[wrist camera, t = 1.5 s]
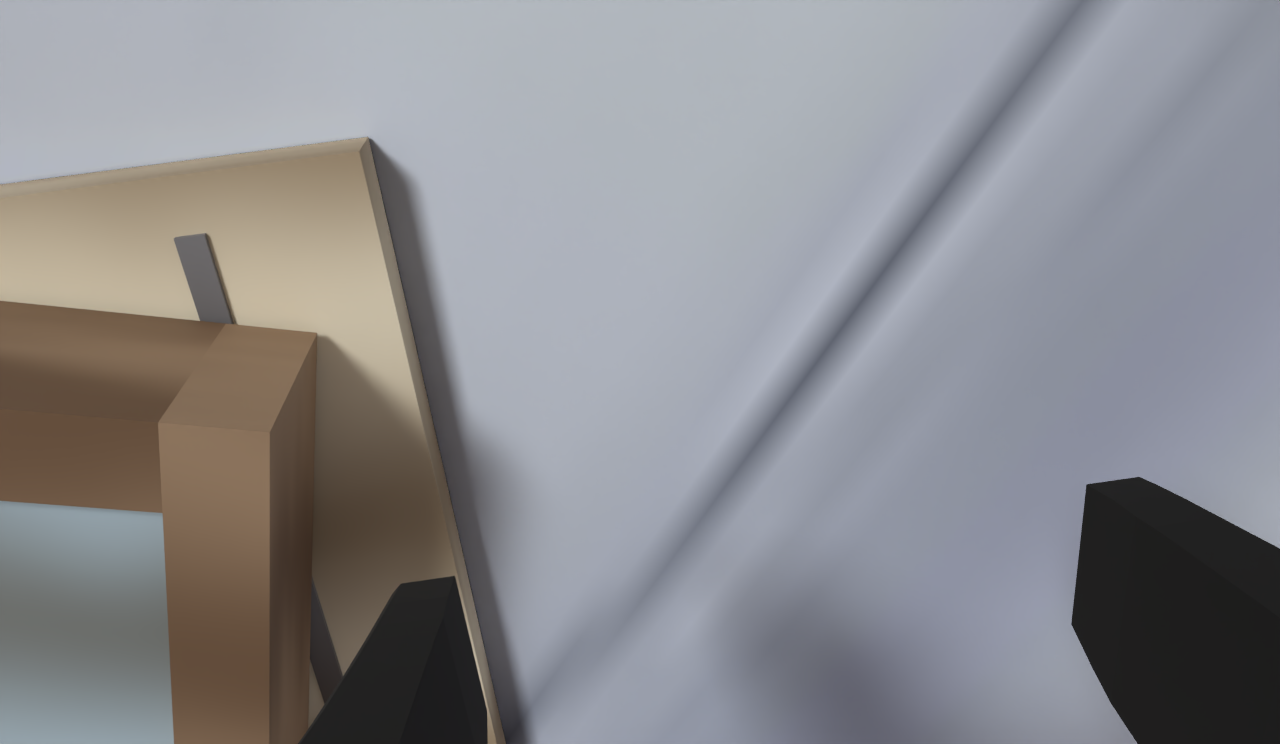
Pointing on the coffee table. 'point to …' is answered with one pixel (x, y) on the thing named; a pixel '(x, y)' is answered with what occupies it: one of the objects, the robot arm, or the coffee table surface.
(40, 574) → the tan cardboard box
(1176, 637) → the robot arm
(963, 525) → the coffee table surface
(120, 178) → the birch board
